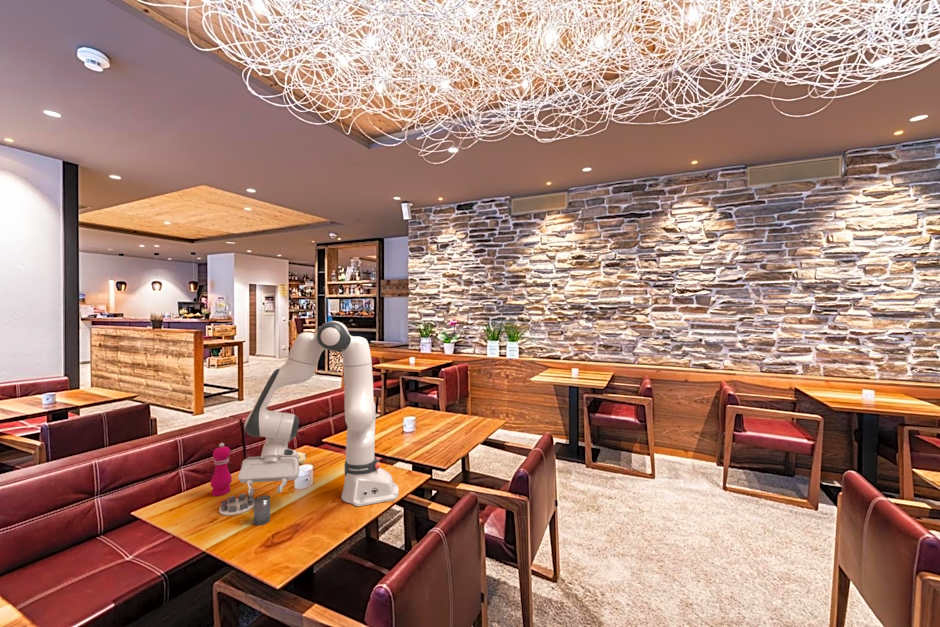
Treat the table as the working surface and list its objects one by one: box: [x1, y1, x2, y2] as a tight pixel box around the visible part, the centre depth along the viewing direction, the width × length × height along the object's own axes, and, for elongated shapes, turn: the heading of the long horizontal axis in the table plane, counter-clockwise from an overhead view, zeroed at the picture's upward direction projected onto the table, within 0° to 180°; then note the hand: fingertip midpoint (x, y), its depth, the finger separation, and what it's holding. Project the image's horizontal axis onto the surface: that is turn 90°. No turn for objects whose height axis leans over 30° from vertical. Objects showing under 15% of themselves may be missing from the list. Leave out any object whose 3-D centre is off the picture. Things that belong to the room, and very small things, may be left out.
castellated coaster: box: [218, 493, 255, 516], centre depth 144 cm, size 12×12×3 cm
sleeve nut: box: [253, 494, 271, 526], centre depth 134 cm, size 5×5×8 cm
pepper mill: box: [210, 442, 233, 497], centre depth 155 cm, size 7×7×20 cm
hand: (264, 493), depth 138 cm, fingers open, 8 cm apart
